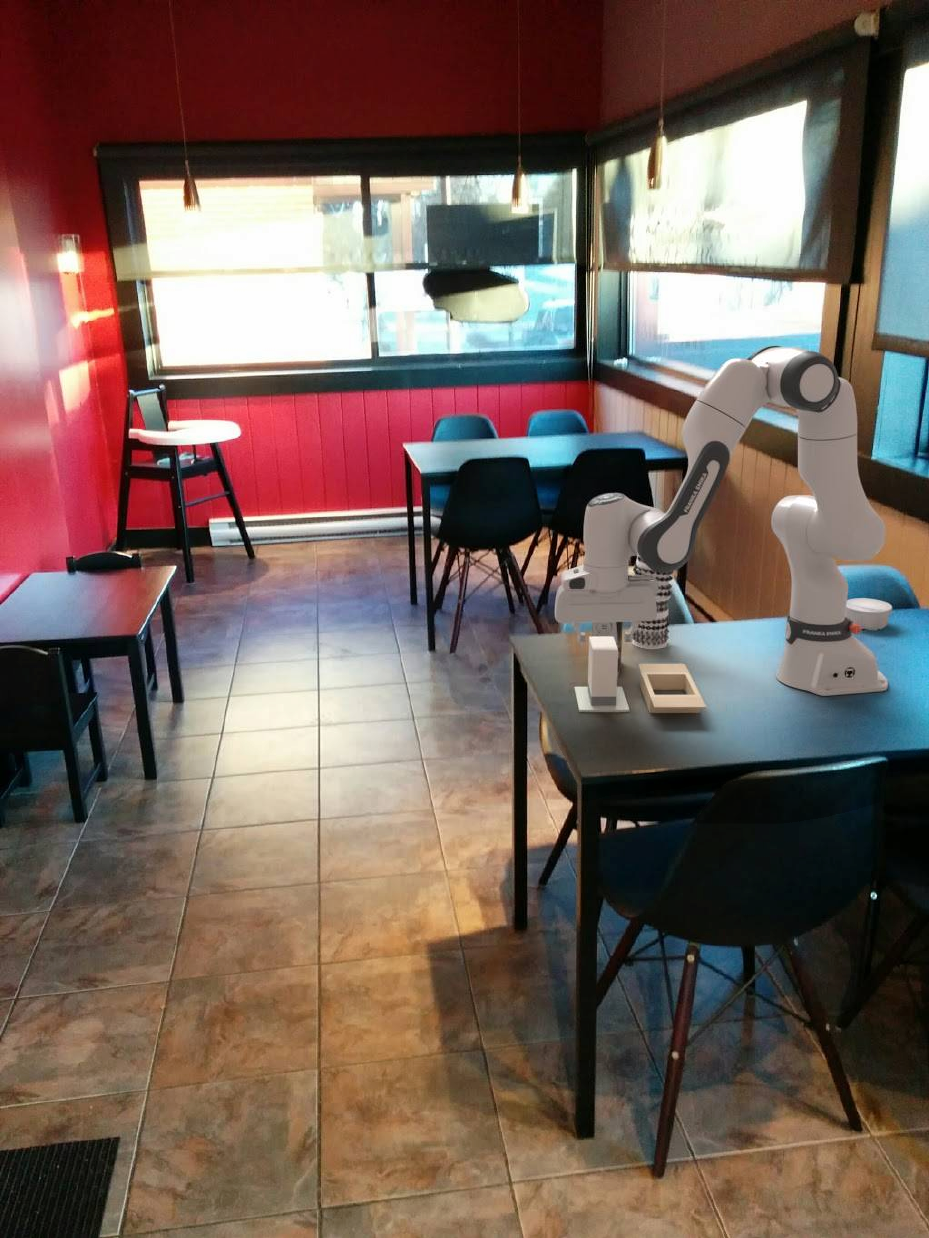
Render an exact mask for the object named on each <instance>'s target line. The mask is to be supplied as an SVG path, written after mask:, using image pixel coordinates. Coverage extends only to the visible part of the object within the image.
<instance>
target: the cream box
mask: <svg viewBox="0 0 929 1238" xmlns="http://www.w3.org/2000/svg"><path fill="white" fill-rule="evenodd" d="M587 663H588V664H587V666H588V667H587V687H588V694H589V698H590V703H591V706H616V694H617V687H618V676H617V668H618V648H617V645H616V642H615V639H614V636H592V635H591V636H588V662H587Z"/></svg>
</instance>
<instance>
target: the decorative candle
mask: <svg viewBox="0 0 929 1238" xmlns="http://www.w3.org/2000/svg"><path fill="white" fill-rule="evenodd" d="M633 565H634V567H633V570H632V571H633V573H634V575H640V576H641V575H651V577H654V578H656V579H657V581H658V593H657V594H656V595H655V598H656V606H657V617H656V618H655V619H654V620H653V621H639V626H638V628H637V629H636V631H635V632H634V634H633V642H631V643H632V645H633V644H634V645H635V647H636V648H639V647H640V649H643V648H644V650H660V648H661V649H663V648H666V647H668V645H669V642H668V639H669V635H668V634H669V632H670V629H669V626H670V623H669V620H670V617H671V616H669V606H668V605H669V599H670V598H671V595H672V591H671V588H672V587H673V586H672V584H670V582H671V581H672V580H673V579H674V577H673V576H672V574H673V573H674V571H672V572H666V573H662V572H657V571H654V570H652V569H650V568H649V567H648V566H647V565H646V564H645V563H644V561H643V560H642V559H641V558H640V557H639V556H638V555H637V559H636V561H635V563H634V564H633ZM651 580H653V579H651ZM667 644H668V645H667ZM634 645H633V646H634ZM637 646H638V647H637Z"/></svg>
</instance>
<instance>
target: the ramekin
mask: <svg viewBox="0 0 929 1238" xmlns="http://www.w3.org/2000/svg"><path fill="white" fill-rule="evenodd" d="M892 611H893V606H892V605H891V604H890V603H888V602H886V601H883V600H879V599H876V598H875V599H874V598H867V597H860V598H858V597H856V598H850V599H847V604H846V613H845V617H846V618H848V619H850V620H851V621H853V623H857V624H858V625H859V626H860V627H861V628H862V629H866V630H865V631H876V630H875V629H880V630H882V629H881V628H883V629H884V628H886V626H887V625H888V622H889V619H890V616H891V613H892ZM862 629H861V630H862ZM867 629H868V630H867Z"/></svg>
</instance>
